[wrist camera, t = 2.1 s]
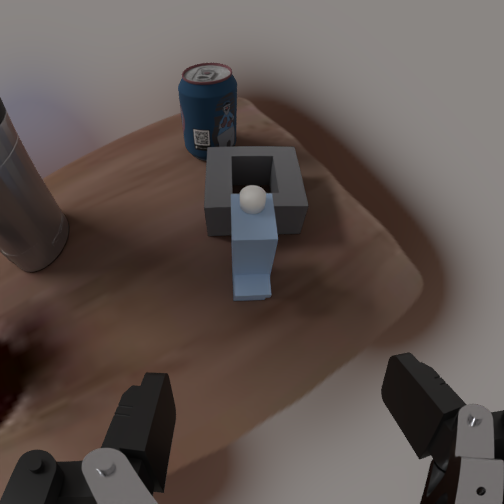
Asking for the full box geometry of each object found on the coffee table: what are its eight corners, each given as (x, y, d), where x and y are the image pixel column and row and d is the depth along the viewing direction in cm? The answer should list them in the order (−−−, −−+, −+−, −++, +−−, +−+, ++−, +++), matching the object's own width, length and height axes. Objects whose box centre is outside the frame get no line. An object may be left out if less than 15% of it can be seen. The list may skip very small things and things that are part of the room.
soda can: (195, 131, 42) (189, 59, 31) (240, 136, 41) (243, 62, 31) (179, 161, 38) (167, 83, 28) (229, 167, 38) (228, 86, 27)
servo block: (266, 317, 28) (283, 255, 18) (234, 318, 28) (232, 256, 18) (260, 248, 32) (270, 166, 22) (231, 249, 32) (230, 167, 22)
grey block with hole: (207, 236, 32) (204, 207, 28) (209, 176, 37) (207, 147, 33) (299, 233, 33) (308, 206, 29) (288, 175, 38) (294, 146, 33)
